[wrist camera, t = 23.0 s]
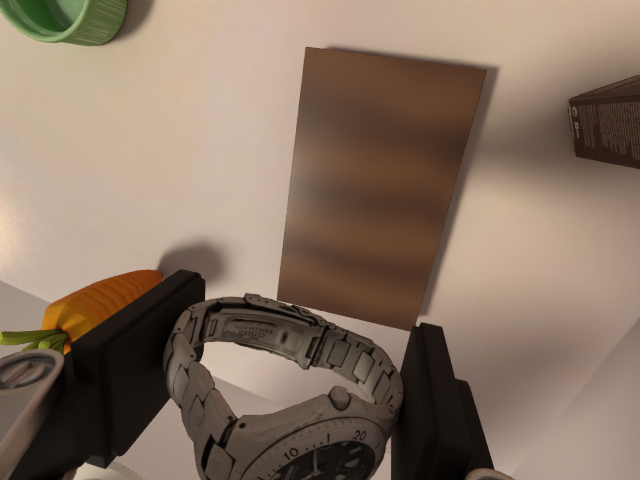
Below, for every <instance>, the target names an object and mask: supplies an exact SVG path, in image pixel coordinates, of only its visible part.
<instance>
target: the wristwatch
mask: <svg viewBox="0 0 640 480" xmlns="http://www.w3.org/2000/svg"><path fill="white" fill-rule="evenodd" d="M217 341H221V342H234V343H236V344H238V345H240V346H245V347H249V348H252V349H256V350H263V351H268V352H269V353H271V354H276V355H278V356H281V357H284V358H286V359H288V360H293V361H294V362H296V363H297V364H299V366H300V367H301V368H302V369H303V370H309V367H310V365H311V366H313V367H320V368H326V369H331V370H332V371H334V372H335V373H337V374H338V375H340V376H342V377H343V378H345V379H347V380H349V381H351V382H353V383H356V384H357V386H358V387H359V388H360V389H361V390H362V391H363V393H364V394H365V396H366V397H367V398H368V399H369V401H370V402H371V403H372V404H371V403H369V402H367V401H364V400H362V399H360V398H359V397H358V396H356V395H355V394H353V393H348V392H347V390H346V388H344V387H341V386H334V387H333V388H332V389H331V390H330V392H329V394H328V395H325V394H322V395H320V396H317V397H315V398H312V399H310V400H308V401H305V402H303V403H300V404H298V405H295V406H292V407H289V408H286V409H284V410H281V411H278V412H275V413H273V414H266V415H243V416H242V417H241V418H239V419H238V418H237V417H236V416H235V415H234V413H233V412H232V410H231V409H230V407H229V406H228V404H227V402H226V401H225V399H224V398H223V396H222V395H221V393H220V392H219V391H218V390H217V389H215V388H214V387H215V383H214V381H213V379H212V377H211V374H210V372H209V371H208V370H207V369H206V368H205V367H204V366H203V365H202V364H200V363H198V362H197V361H196V354H195V352H194V350H193V348H194V347H197V346H199V345H201V344H204V343H206V342H217ZM163 368H164V377H165V379H166V385H167V389H168V392H169V394H170V397H171V398H172V399H173V400H174V402H175V403H176V404H177V406H178V407H179V408H180V409H181V415H182V421H183V423H184V426H185V429H186V431H187V434H188V436H189V437H190V438H191V440H192V441H193V442H194V453H195V462H196V467H197V471H198V474H199V476H200V478H201V480H370V479H371V477H372V476H373V475H374V474H375V472H376V471H377V469H378V467H379V466H380V464H381V462H382V460H383V458H384V454H385V450H386V444H387V441H388V439H389V438H390V437H391V435H392V433H393V429H394V427H395V426H396V423H397V421H398V418H399V414H400V410H401V406H402V401H403V397H404V387H403V383H402V379H401V377H400V375H399V373H398V371H397V368H396V367H395V366H394V365H393V363H392V361H391V359H390V358H389V357H388V355H387V354H386V352H385V351H384V350H383V349H382V348H381V347H379V346H378V345H376V344H375V343H374V342H373V341H372V340H371V339H368V338H366V337H363V336H360V335H358V334H356V333H353V332H351V331H349V330H346V329H343V328H341V327H339V326H336V325H335V324H334V323H331V322H327V321H326V320H325V319H323V318H322V317H321V316H319V315H316V314H313V313H312V312H310V311H309V310H307V309H305V308H302V307H299V306H296V305H292V306H288V305H286V304H284V303H281V302H278V301H275V300H272V299H268V298H264V297H261V296H260V295H258V294H249V293H246V294H245V296H244V297H243V298H241V297H222V298H217V299H210V300H207V301H203V302H200V303H196V304H194V305H192V306H190V307H189V308H188V310H185V311H184V312H183V313H182V315H181V316H180V317H179V319H178V320H177V322H176V324H175V326H174V328H173V330H172V332H171V334H170V336H169V338H168V342H167V344H166V347H165V350H164V355H163Z"/></svg>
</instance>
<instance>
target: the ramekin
mask: <svg viewBox="0 0 640 480" xmlns="http://www.w3.org/2000/svg"><path fill="white" fill-rule="evenodd" d="M126 7H127V0H0V12H1V14H2V15H3V16H4V17H5V19H6V20H7V21H8V22H9V23H10V24H11V25H12V26H13V27H14V28H16V29H17V30H18V31H19V32H21V33H22V34H24V35H26V36H28V37H29V38H32V39H34V40H37V41H41V42H47V43H58V42H64V43H71V44H77V45H84V46H97V45H100V44H103V43H105V42H107V41H108V40H110V39H111V38H113V37H114V36H115V34H116V33H117V32H118V30H119V29H120V27H121V25H122V23H123V20H124V17H125V13H126Z"/></svg>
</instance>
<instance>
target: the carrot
mask: <svg viewBox="0 0 640 480" xmlns="http://www.w3.org/2000/svg"><path fill="white" fill-rule="evenodd" d="M162 279H163V276H162V274H161V272H159V271H157V270H138V271H134V272H129V273H125V274H121V275H118V276H114V277H111V278H108V279H105V280H102V281H99V282H96V283H93V284H91V285H89V286H87V287H85V288H82V289H80V290H78V291H76V292H74V293H72V294H70V295H68V296H66V297H64V298H62V299H60V300H58V301H56V302H54V303H52V304H51V305H50V306H48V307H47V308H46V311H45V315H44V319H43V323H42V327H41V330H38V331H25V332H1V333H0V344H2V345H19V344H24V343H29V342H33V343H31V344H30V345H28V346H27V347H25V348H24V349H22V350H21V351H25V350H29V349H40V348H43V349H52V350H55V351H58V352H60V353H61V354H62V355H64V354H66V353H67V352H69V351H70V350H71V348H70V343H72V342H73V341H75V340H76V339H78V338H79V337H81V336H82V335H84V334H85V333H87V332H88V331H90V330H91V329H93V328H94V327H96V326H97V325H99V324H100V323H101V322H103V321H104V320H106V319H107V318H109V317H110V316H112V315H113V314H115V313H116V312H118V311H119V310H121V309H122V308H124V307H125V306H127V305H128V304H130V303H131V302H132V301H134V300H135V299H137V298H138V297H140V296H141V295H143V294H144V293H146V292H147V291H149V290H150V289H152V288H153V287H155V286H156V285H158V284H159V283H161V282H162ZM21 351H20V352H21Z"/></svg>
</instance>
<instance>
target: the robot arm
mask: <svg viewBox="0 0 640 480" xmlns="http://www.w3.org/2000/svg"><path fill="white" fill-rule="evenodd" d="M203 301H205V280H204V279H202V278H201V275H200V274H199V273H197V272H192V271H188V270H183V269H180V270H178V271H177V272H175V273H174V274H172V275H171V276H169V277H168V278H166V279H165V280H163V281H162V282H161V283H159V284H158V285H156V286H155V287H153V288H152V289H150V290H149V291H147V292H146V293H144V294H143V295H141V296H140V297H138V298H137V299H135V300H134V301H132V302H131V303H130V304H128V305H127V306H125V307H124V308H122V309H121V310H119V311H118V312H116V313H115V314H113V315H112V316H110V317H109V318H107V319H106V320H104V321H103V322H101V323H100V324H99V325H97V326H96V327H94V328H93V329H91V330H90V331H88V332H87V333H85V334H84V335H82V336H81V337H79V338H78V339H76V340H75V341H73V342H72V343H70V348H71V350H70V351H69V352H67V353H66V354H64V355H62V354H61V353H60V352H58V351H55V350H52V349H43V348H40V349H29V350H25V351H21V352H17V353H14V354H11V355H9V356H6V357H3V358H1V359H0V480H73V479H74V477H75V475H76V473H77V469H78V468H79V467H81V466H82V465H83V464H84V463H85V462H86V463H87V464H90V465H93V466H97V467H100V468H103V469H106V468H107V467H108V466H109V465H110V464H111V462H112V461H113V460H114V459H115V458H116V456H122V455H124V454H125V453H126V452H127V451H128V449H129V448H130V447H131V446H132V444H133V443H134V442H135V441H136V440H137V438H138V437H139V436H140V435H141V433H142V432H143V431H144V430H145V428H146V427H147V426H148V425H149V423H150V422H151V421H152V420H153V419H154V417H155V416H156V415H157V414H158V412H159V411H160V410H161V409H162V408H163V406H164V405H165V404H166V403H167V401H168V400H169V399H170V398H171V397H170V394H169V392H168V389H167V385H166V379H165V377H164V368H163V355H164V350H165V347H166V344H167V342H168V338H169V336H170V334H171V332H172V330H173V328H174V326H175V324H176V322H177V320H178V319H179V317H180V316H181V315H182V313H183V312H184V311H185V310H188V308H189V307H190V306H192V305H194V304H196V303H200V302H203ZM193 350H194V352H195V354H196V361H197V362H198V363H199V362H200V360H201V358H202V356H203V352H204V344H201V345H199V346H197V347H194V348H193ZM399 375H400V377H401V379H402V383H403V387H404V397H403V401H402V406H401V410H400V414H399V418H398V421H397V423H396V426H395V427H394V429H393V433H392V435H391V480H514V479H513V478H512V477H510V476H508V475H506V474H504V473H501V472H499V471H497V470H495V469H494V466H493V462H492V459H491V456H490V452H489V449H488V446H487V442H486V439H485V436H484V432H483V429H482V426H481V422H480V419H479V416H478V412H477V409H476V406H475V402H474V399H473V396H472V392H471V389H470V386H469V384H468V382H466V381H464V380H459V379H455V376H454V372H453V368H452V364H451V360H450V356H449V352H448V348H447V344H446V340H445V336H444V332H443V329H442V327H441V326H436V325H432V324H427V323H423V322H421V324H420V326H419V327H417V326H413V327H412V330H411V333H410V337H409V341H408V344H407V348H406V352H405V356H404V359H403V363H402V367H401V371H400V374H399ZM85 480H98V479H85Z"/></svg>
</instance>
